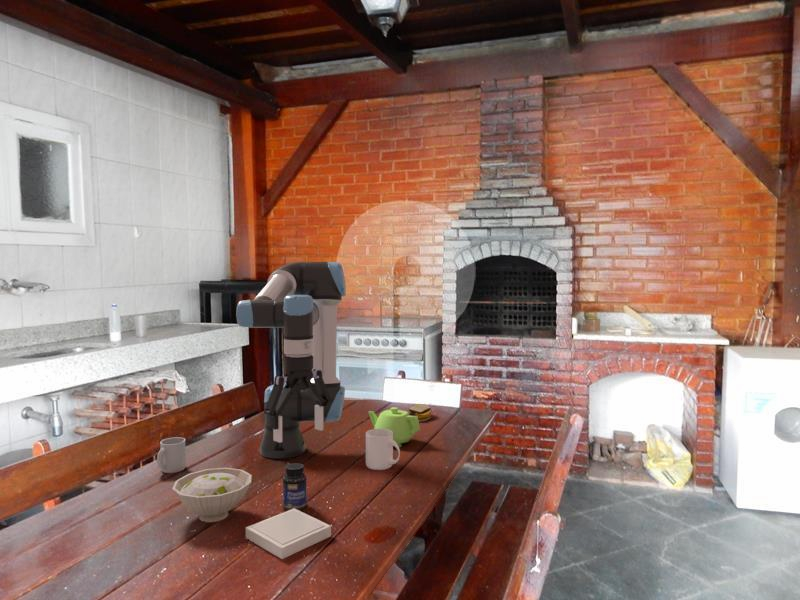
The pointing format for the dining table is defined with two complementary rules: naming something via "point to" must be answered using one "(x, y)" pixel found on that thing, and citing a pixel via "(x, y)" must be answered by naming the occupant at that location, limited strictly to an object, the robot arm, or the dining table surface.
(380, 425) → the teapot
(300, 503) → the pill bottle
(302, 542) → the square plate
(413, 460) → the dining table surface
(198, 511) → the bowl
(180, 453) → the cup
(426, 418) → the toy sandwich meal
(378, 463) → the mug
